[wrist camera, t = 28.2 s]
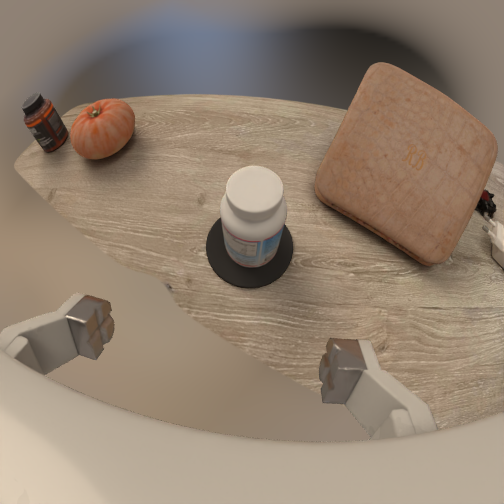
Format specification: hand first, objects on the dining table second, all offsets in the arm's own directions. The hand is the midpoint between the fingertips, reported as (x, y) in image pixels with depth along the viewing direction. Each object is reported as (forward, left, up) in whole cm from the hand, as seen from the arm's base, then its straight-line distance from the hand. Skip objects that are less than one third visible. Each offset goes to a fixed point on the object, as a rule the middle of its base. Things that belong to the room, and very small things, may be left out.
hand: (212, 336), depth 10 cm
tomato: (+22, +29, -20) cm, 42 cm away
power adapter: (+25, -37, -20) cm, 49 cm away
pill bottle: (+12, +2, -20) cm, 23 cm away
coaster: (+12, +2, -20) cm, 24 cm away
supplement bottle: (+21, +43, -20) cm, 52 cm away
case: (+28, -15, -20) cm, 38 cm away
